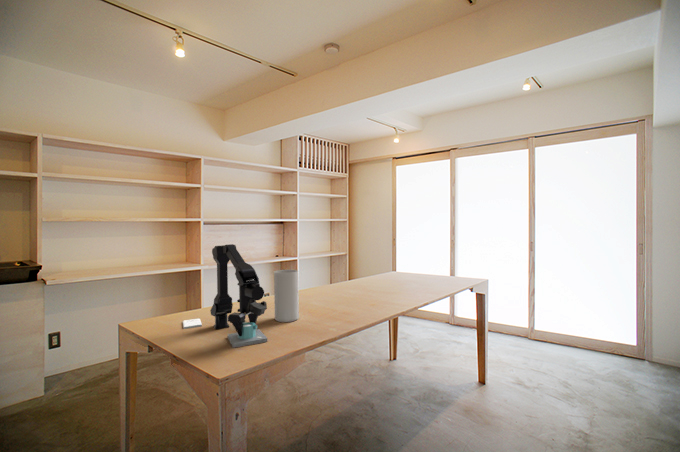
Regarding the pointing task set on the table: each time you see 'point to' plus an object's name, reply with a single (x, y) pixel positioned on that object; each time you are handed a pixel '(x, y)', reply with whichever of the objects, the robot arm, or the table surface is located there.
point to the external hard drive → (191, 323)
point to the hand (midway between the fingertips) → (246, 332)
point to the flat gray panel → (244, 342)
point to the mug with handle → (248, 331)
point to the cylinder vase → (286, 295)
